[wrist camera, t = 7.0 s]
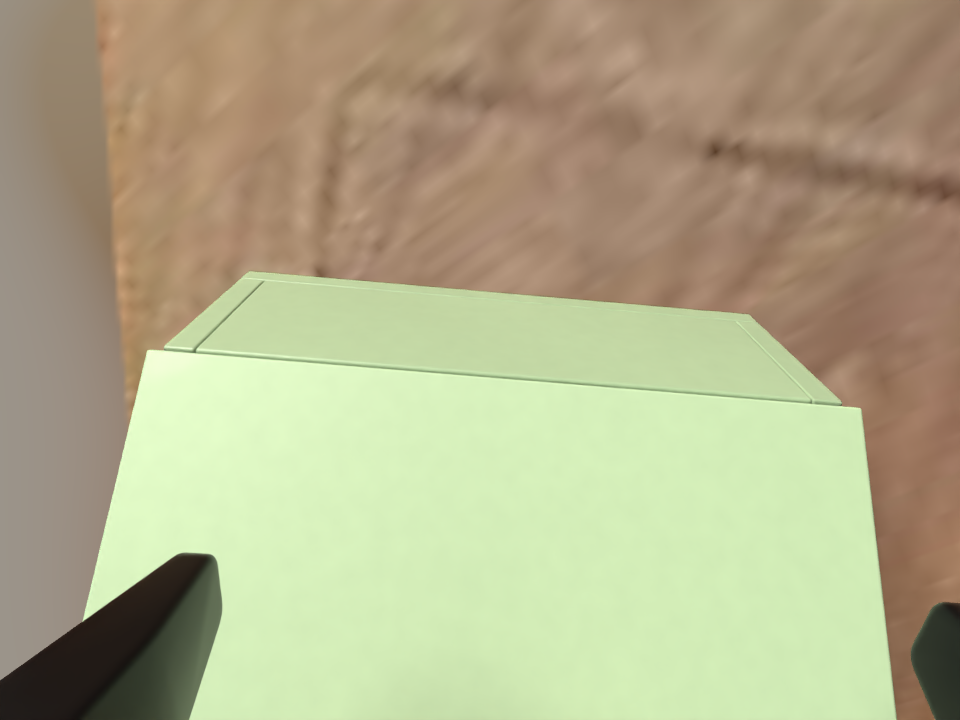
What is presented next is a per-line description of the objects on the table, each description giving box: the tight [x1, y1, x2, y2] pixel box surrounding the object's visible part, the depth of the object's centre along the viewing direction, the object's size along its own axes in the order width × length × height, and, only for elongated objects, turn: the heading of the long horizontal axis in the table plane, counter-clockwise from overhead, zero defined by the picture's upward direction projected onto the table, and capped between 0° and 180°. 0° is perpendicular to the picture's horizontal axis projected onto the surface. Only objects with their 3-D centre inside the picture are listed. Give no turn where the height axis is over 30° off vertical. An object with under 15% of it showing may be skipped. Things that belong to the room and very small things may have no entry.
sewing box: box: [164, 271, 842, 406], centre depth 19 cm, size 12×15×6 cm
